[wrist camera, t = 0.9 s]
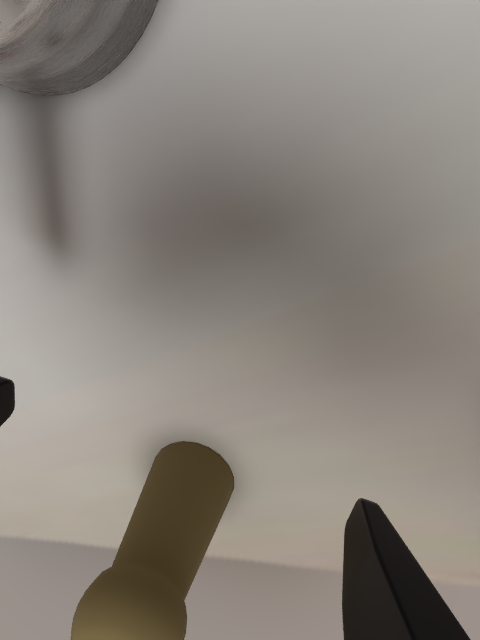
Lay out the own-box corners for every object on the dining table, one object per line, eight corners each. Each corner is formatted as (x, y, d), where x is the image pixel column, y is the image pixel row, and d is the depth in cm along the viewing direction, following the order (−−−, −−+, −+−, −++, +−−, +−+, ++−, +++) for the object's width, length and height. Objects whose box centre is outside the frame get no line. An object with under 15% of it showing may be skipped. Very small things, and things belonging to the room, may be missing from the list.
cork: (197, 522, 26) (125, 728, 16) (137, 470, 26) (23, 650, 15) (252, 483, 24) (208, 694, 14) (187, 426, 23) (92, 602, 13)
